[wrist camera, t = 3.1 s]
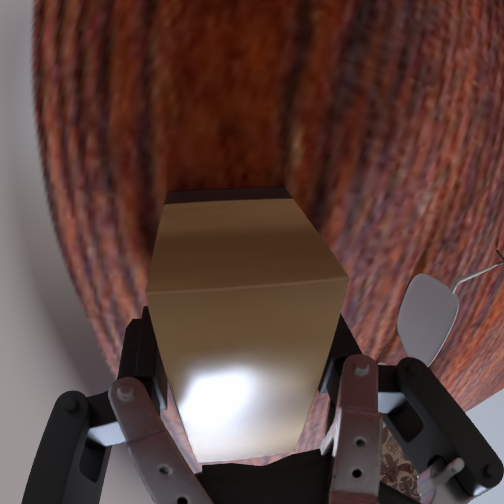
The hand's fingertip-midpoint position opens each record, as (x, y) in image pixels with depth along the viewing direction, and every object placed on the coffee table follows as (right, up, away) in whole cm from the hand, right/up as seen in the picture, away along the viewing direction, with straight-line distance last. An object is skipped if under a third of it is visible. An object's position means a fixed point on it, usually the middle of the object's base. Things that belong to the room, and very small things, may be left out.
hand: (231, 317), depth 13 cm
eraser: (0, +1, +1) cm, 2 cm away
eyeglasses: (+13, -3, +6) cm, 15 cm away
